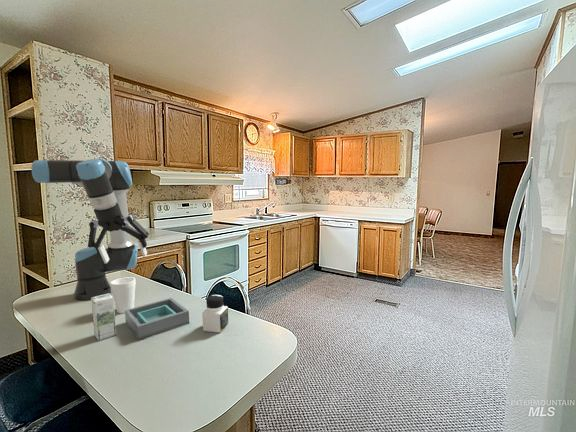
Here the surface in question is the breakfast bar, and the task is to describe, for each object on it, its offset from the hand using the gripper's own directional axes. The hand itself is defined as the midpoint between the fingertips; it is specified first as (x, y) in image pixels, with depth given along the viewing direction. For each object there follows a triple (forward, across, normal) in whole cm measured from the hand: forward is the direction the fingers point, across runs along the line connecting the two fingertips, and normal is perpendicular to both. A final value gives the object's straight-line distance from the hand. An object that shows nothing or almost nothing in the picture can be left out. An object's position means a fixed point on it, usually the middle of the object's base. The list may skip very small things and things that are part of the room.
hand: (126, 258), depth 111 cm
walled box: (+27, +5, -7) cm, 28 cm away
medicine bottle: (+28, +28, -15) cm, 42 cm away
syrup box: (+23, -10, -13) cm, 28 cm away
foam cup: (+29, -12, +8) cm, 32 cm away
